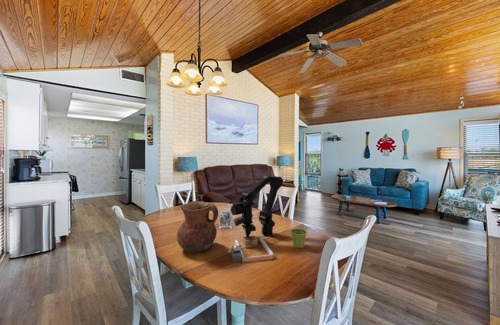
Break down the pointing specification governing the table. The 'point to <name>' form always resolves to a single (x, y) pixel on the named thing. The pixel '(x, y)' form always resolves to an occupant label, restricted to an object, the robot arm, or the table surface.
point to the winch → (236, 253)
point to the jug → (197, 226)
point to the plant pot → (298, 237)
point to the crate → (250, 241)
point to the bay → (257, 258)
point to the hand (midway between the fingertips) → (247, 237)
